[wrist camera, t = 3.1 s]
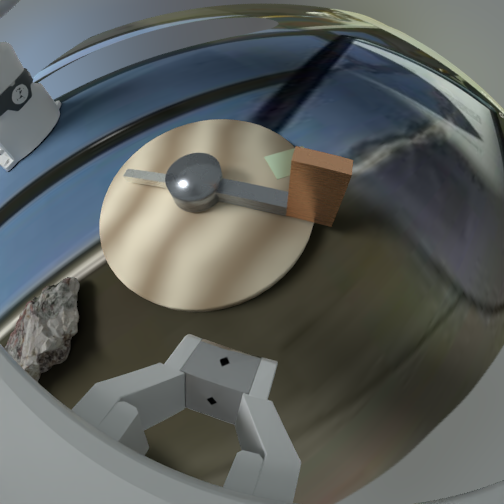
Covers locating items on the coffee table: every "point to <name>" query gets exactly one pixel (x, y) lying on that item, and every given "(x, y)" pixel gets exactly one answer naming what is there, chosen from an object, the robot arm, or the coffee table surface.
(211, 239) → the stand
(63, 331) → the mineral rock
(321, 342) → the coffee table surface
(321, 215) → the grey pivot bar
